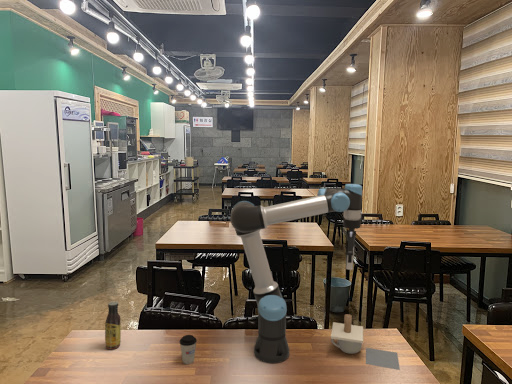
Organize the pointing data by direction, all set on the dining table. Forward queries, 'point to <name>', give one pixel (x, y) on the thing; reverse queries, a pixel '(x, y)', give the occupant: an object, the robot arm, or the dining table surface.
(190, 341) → the coffee cup
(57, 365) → the dining table surface
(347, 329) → the lid
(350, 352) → the teacup
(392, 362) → the mat
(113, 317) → the sauce bottle
